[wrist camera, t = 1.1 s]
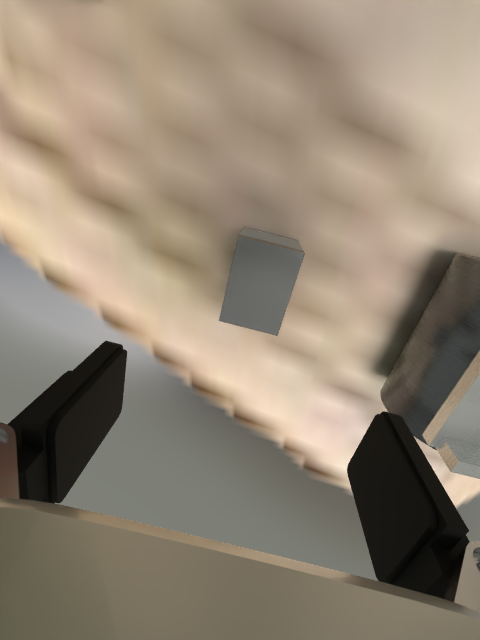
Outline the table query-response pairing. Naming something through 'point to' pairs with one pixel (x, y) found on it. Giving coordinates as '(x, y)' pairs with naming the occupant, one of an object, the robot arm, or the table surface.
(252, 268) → the grey chamfered block
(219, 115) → the table surface
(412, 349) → the motor
